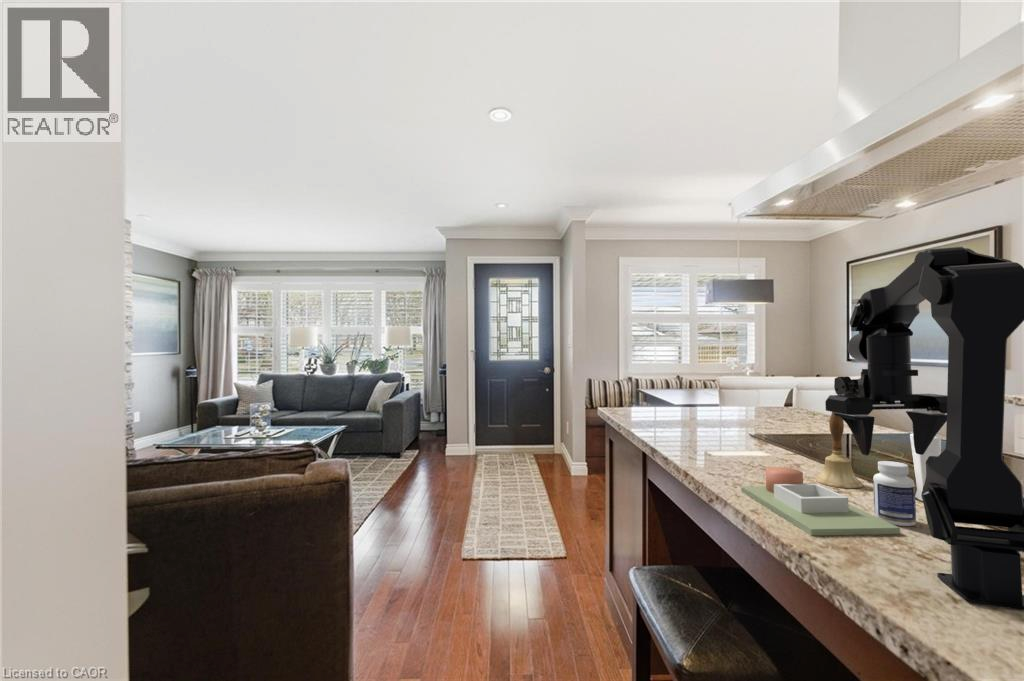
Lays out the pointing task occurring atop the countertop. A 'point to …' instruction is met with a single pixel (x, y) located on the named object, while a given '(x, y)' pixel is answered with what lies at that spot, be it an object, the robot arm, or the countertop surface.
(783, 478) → the green board with tray
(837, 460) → the hand bell
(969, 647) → the countertop surface
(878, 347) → the robot arm
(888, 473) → the pill bottle
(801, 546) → the countertop surface
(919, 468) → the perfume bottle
